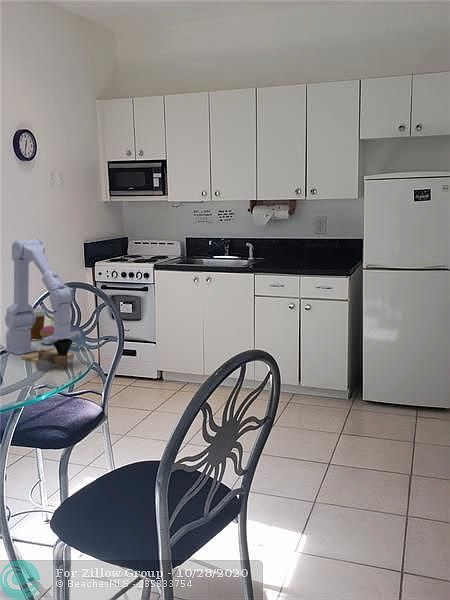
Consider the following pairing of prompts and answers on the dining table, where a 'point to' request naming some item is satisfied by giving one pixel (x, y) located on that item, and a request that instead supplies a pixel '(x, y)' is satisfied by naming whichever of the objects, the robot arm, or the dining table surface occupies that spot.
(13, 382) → the dining table surface
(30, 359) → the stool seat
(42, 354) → the hinged leg
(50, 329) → the cupcake
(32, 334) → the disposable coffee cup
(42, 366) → the stop block
